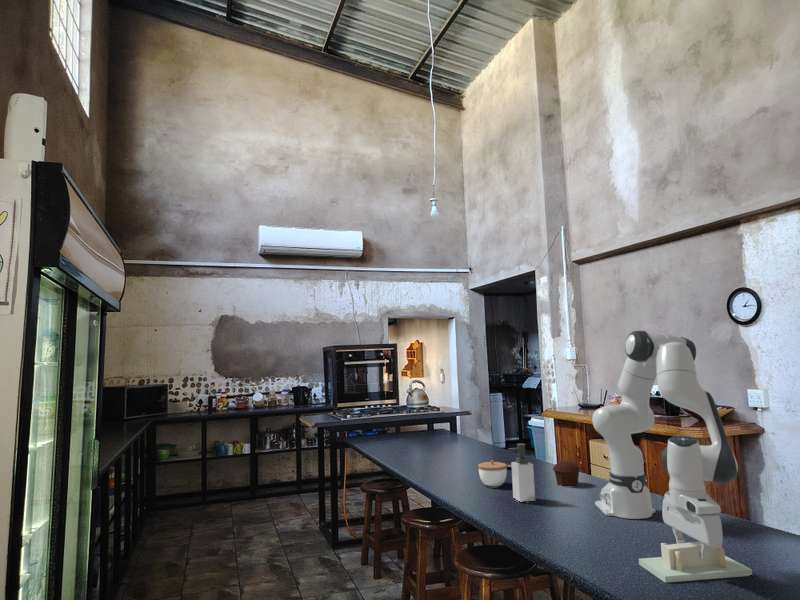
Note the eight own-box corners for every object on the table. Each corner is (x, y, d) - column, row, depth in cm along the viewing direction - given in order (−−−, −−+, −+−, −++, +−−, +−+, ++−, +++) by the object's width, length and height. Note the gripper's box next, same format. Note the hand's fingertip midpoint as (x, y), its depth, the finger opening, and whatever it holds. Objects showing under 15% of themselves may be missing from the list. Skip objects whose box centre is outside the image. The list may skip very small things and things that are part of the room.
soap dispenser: (507, 499, 214) (505, 443, 217) (528, 497, 216) (525, 442, 218) (514, 503, 208) (511, 446, 210) (535, 501, 210) (532, 444, 212)
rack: (665, 582, 134) (663, 558, 135) (639, 564, 146) (637, 541, 147) (752, 575, 137) (750, 551, 137) (719, 558, 149) (717, 535, 149)
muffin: (579, 481, 239) (577, 459, 241) (583, 487, 229) (581, 464, 230) (552, 481, 241) (550, 459, 242) (554, 487, 231) (553, 464, 232)
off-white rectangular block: (670, 569, 139) (668, 549, 139) (662, 564, 142) (661, 545, 142) (723, 562, 142) (721, 543, 142) (714, 558, 145) (713, 539, 145)
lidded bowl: (510, 488, 231) (508, 462, 232) (481, 489, 231) (479, 463, 232) (504, 481, 244) (503, 457, 245) (477, 482, 244) (476, 457, 245)
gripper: (654, 489, 153) (658, 539, 152) (702, 510, 133) (707, 567, 132) (674, 488, 154) (678, 537, 153) (725, 508, 134) (730, 565, 132)
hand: (692, 551), depth 142 cm, fingers open, 8 cm apart
